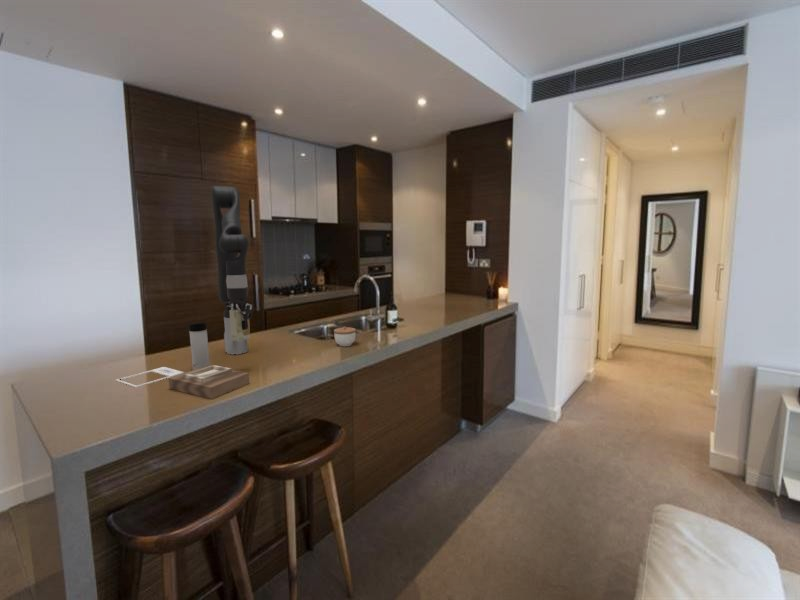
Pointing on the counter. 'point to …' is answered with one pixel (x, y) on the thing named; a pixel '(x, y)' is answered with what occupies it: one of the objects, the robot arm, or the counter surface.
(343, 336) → the lidded jar
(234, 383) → the display stand
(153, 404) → the counter surface
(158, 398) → the counter surface
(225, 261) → the robot arm
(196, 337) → the travel mug
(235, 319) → the skincare box
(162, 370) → the photo frame
